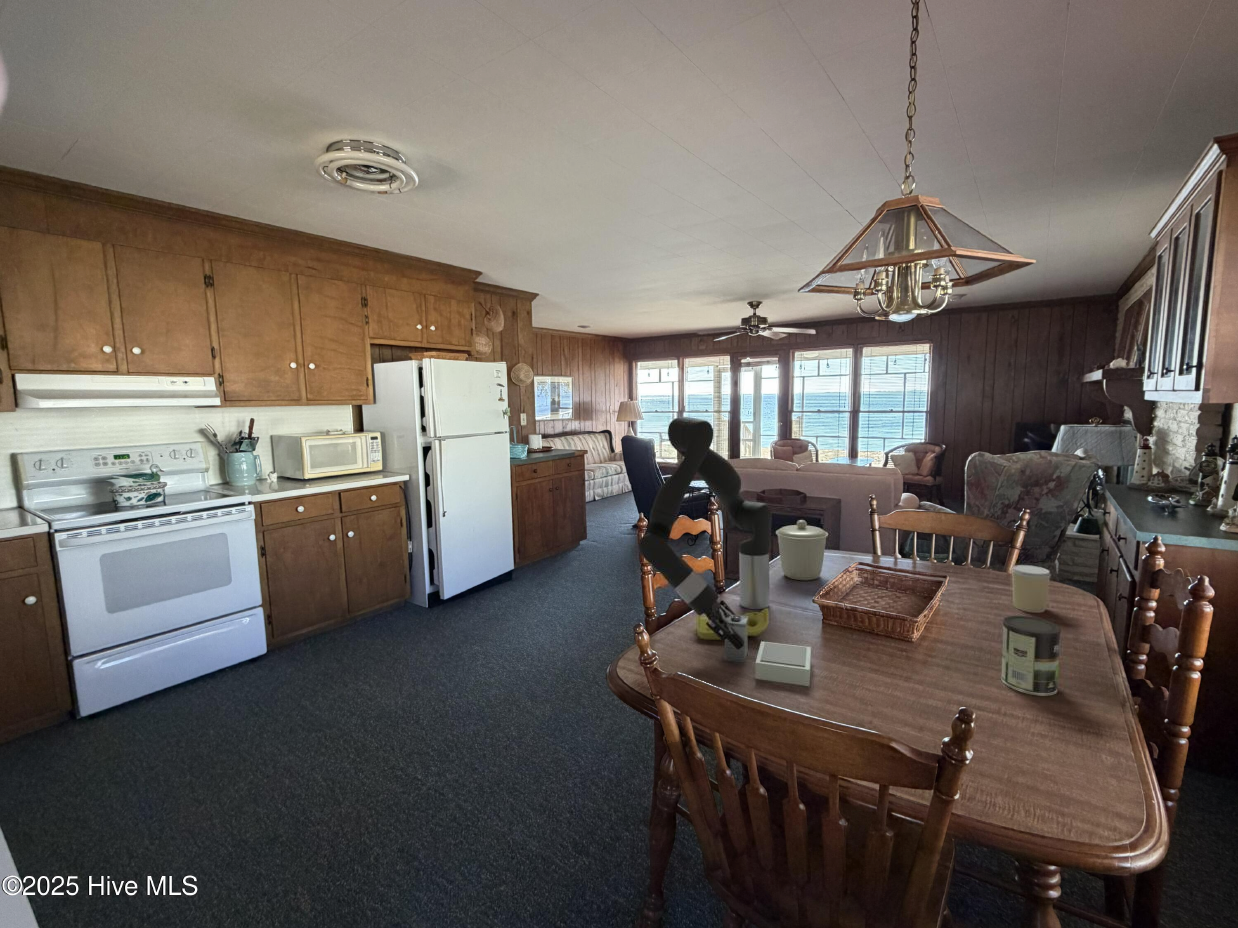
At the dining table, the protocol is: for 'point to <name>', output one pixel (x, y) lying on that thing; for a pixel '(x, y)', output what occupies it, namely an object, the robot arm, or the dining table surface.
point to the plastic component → (754, 625)
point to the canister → (801, 550)
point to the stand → (784, 663)
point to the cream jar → (1030, 588)
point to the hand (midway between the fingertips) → (743, 641)
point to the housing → (740, 629)
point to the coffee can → (1030, 655)
